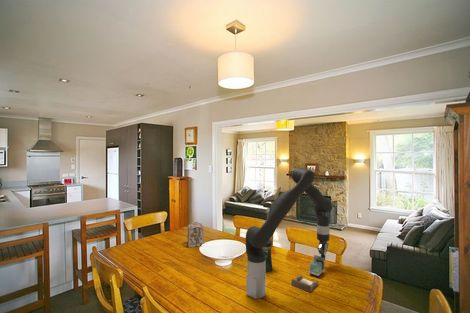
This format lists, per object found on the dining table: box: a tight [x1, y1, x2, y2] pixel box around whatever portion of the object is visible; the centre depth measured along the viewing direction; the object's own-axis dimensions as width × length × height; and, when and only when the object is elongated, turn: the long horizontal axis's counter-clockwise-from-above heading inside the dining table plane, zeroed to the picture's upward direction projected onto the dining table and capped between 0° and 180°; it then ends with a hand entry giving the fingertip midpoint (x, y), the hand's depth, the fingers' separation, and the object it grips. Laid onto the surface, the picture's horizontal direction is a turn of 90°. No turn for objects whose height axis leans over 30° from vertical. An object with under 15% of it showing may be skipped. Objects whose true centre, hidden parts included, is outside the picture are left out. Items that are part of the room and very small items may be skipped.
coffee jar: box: [262, 238, 273, 272], centre depth 146 cm, size 10×8×19 cm
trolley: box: [308, 254, 325, 278], centre depth 139 cm, size 9×6×9 cm, turn 139°
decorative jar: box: [186, 221, 205, 248], centre depth 187 cm, size 12×12×18 cm
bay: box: [291, 274, 319, 293], centre depth 127 cm, size 11×10×3 cm
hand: (323, 259), depth 147 cm, fingers closed
